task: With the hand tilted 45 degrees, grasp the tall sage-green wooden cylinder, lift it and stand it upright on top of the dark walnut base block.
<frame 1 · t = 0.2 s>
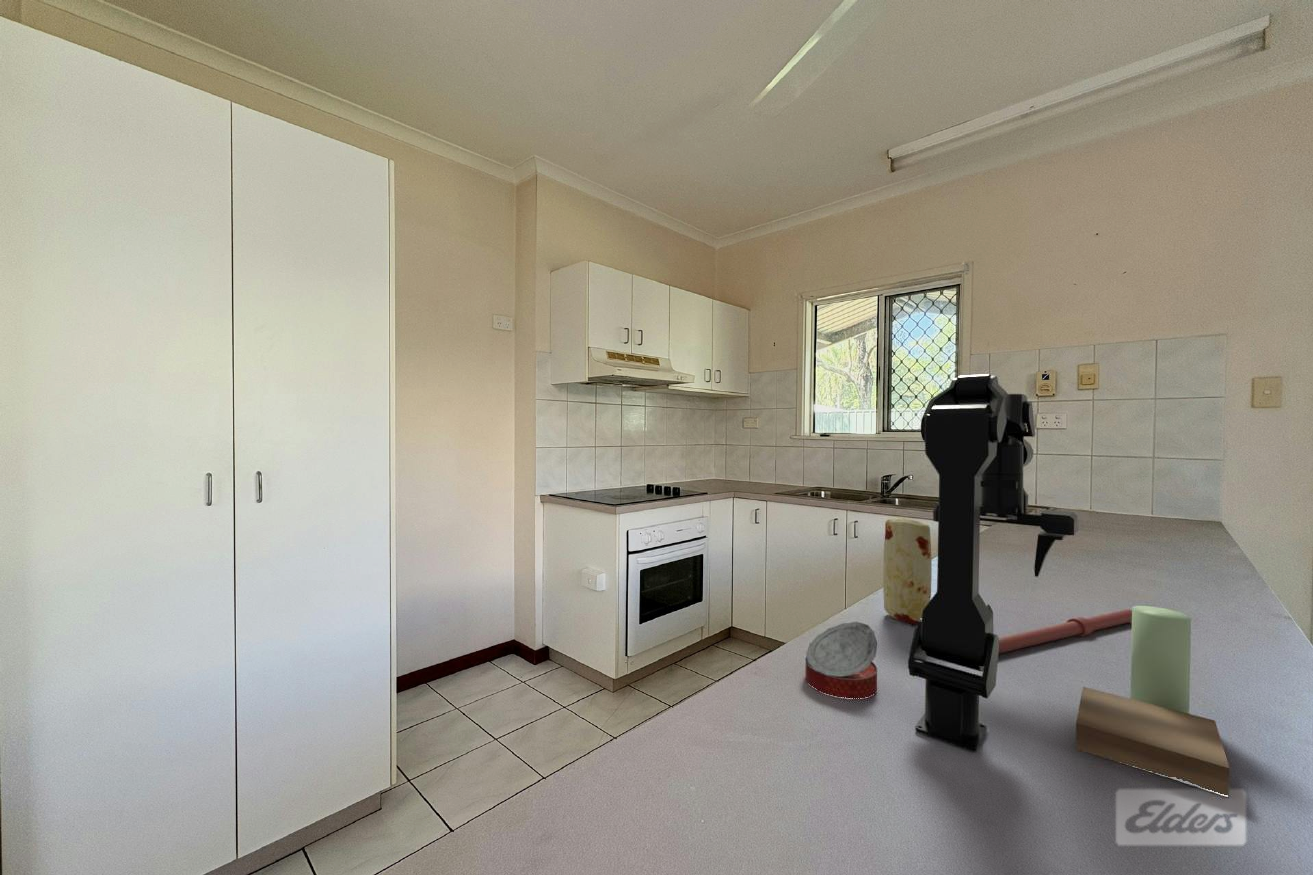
hand: (1001, 570, 84), 14 cm above the worktop, tool pointing down, fingers open, 9 cm apart
food model: (906, 621, 102), on the worktop
canned food: (840, 685, 76), on the worktop
green cylinder: (1158, 710, 69), on the worktop
walnut base: (1145, 747, 61), on the worktop
red collared rod: (1060, 641, 94), on the worktop
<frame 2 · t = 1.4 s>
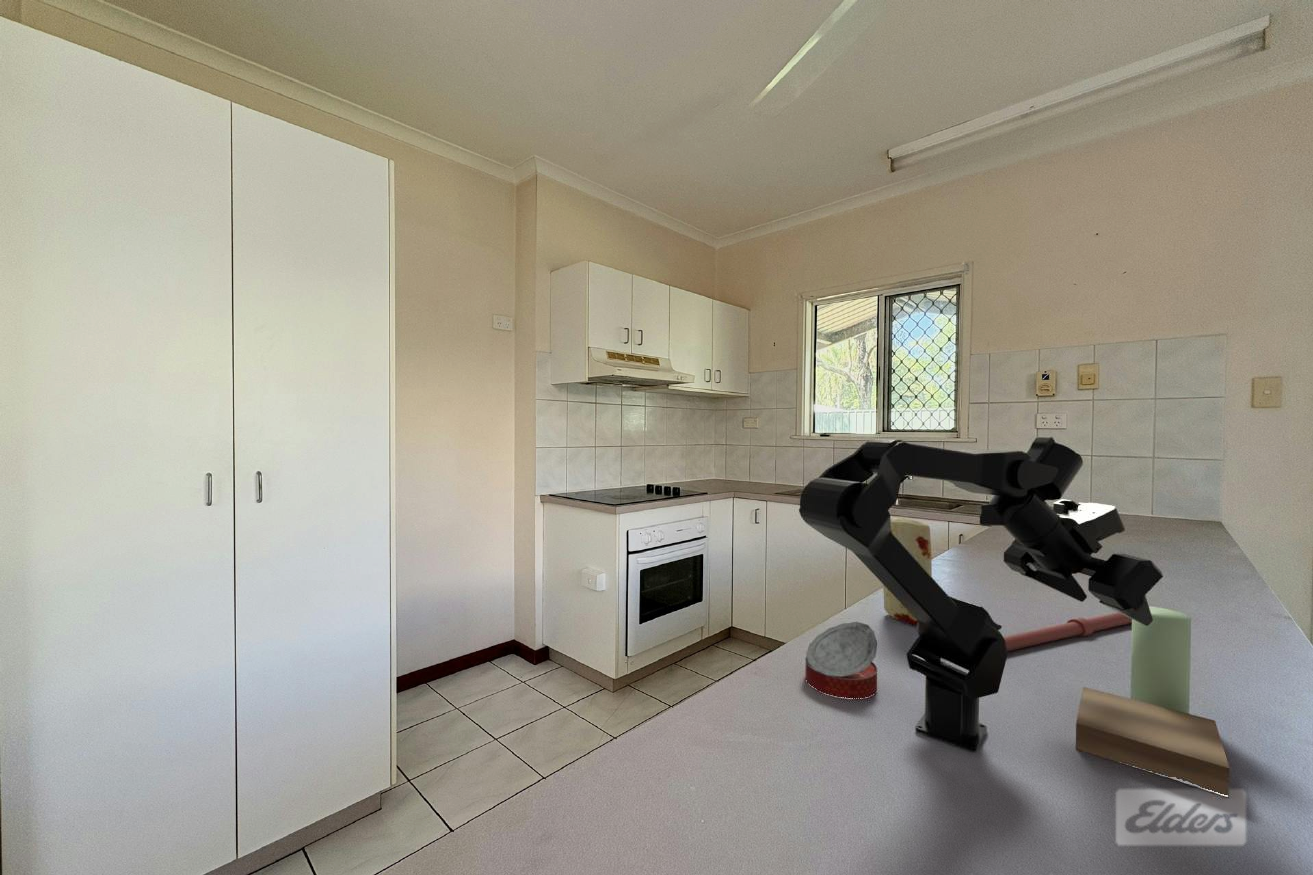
hand: (1114, 610, 69), 13 cm above the worktop, tool tilted 45°, fingers open, 9 cm apart
nothing on the worktop moved.
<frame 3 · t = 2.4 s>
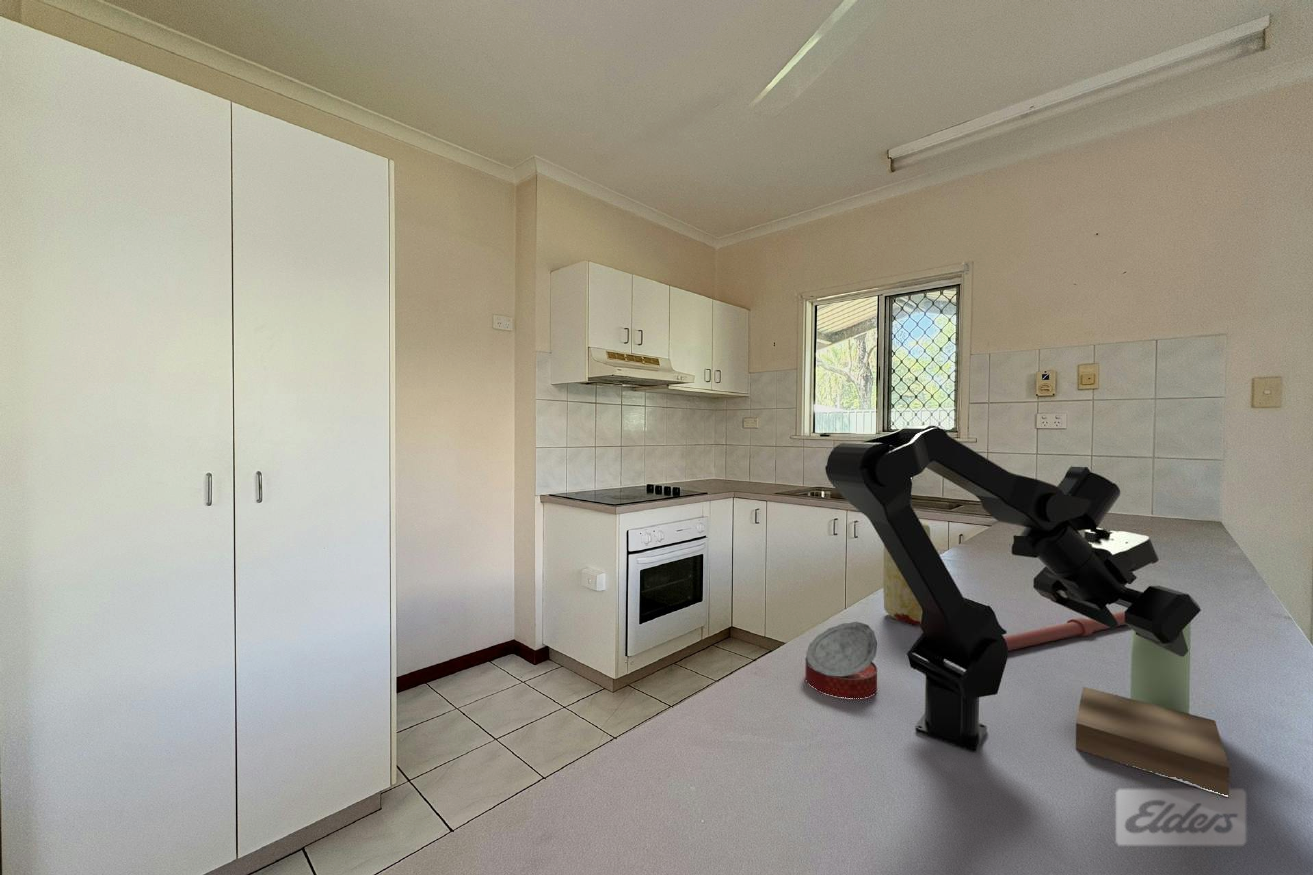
hand: (1147, 638, 69), 9 cm above the worktop, tool tilted 45°, fingers open, 9 cm apart
nothing on the worktop moved.
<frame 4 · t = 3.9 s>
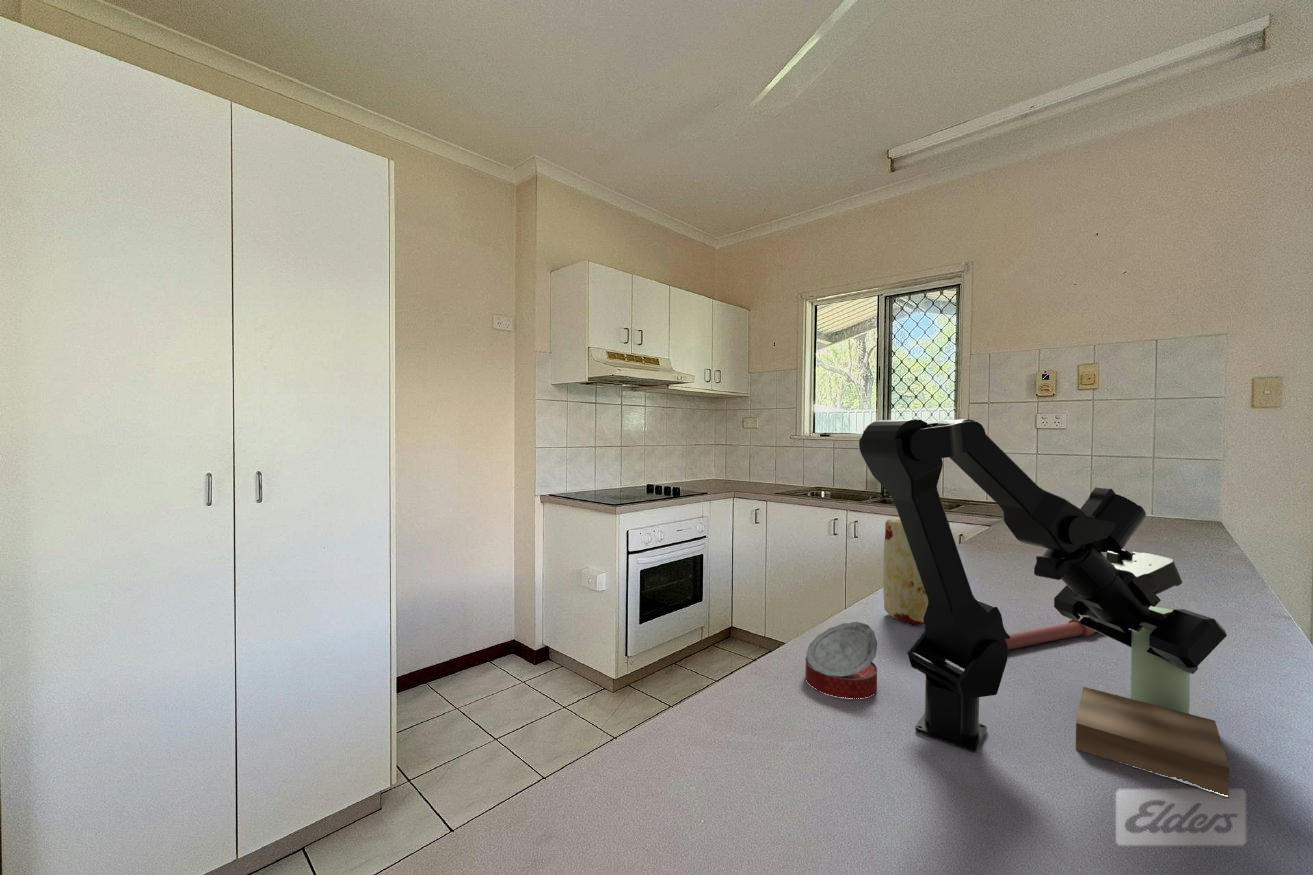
hand: (1170, 660, 69), 7 cm above the worktop, tool tilted 45°, fingers closed on green cylinder, 6 cm apart
green cylinder: (1159, 710, 69), on the worktop, touching gripper
everything else where it was.
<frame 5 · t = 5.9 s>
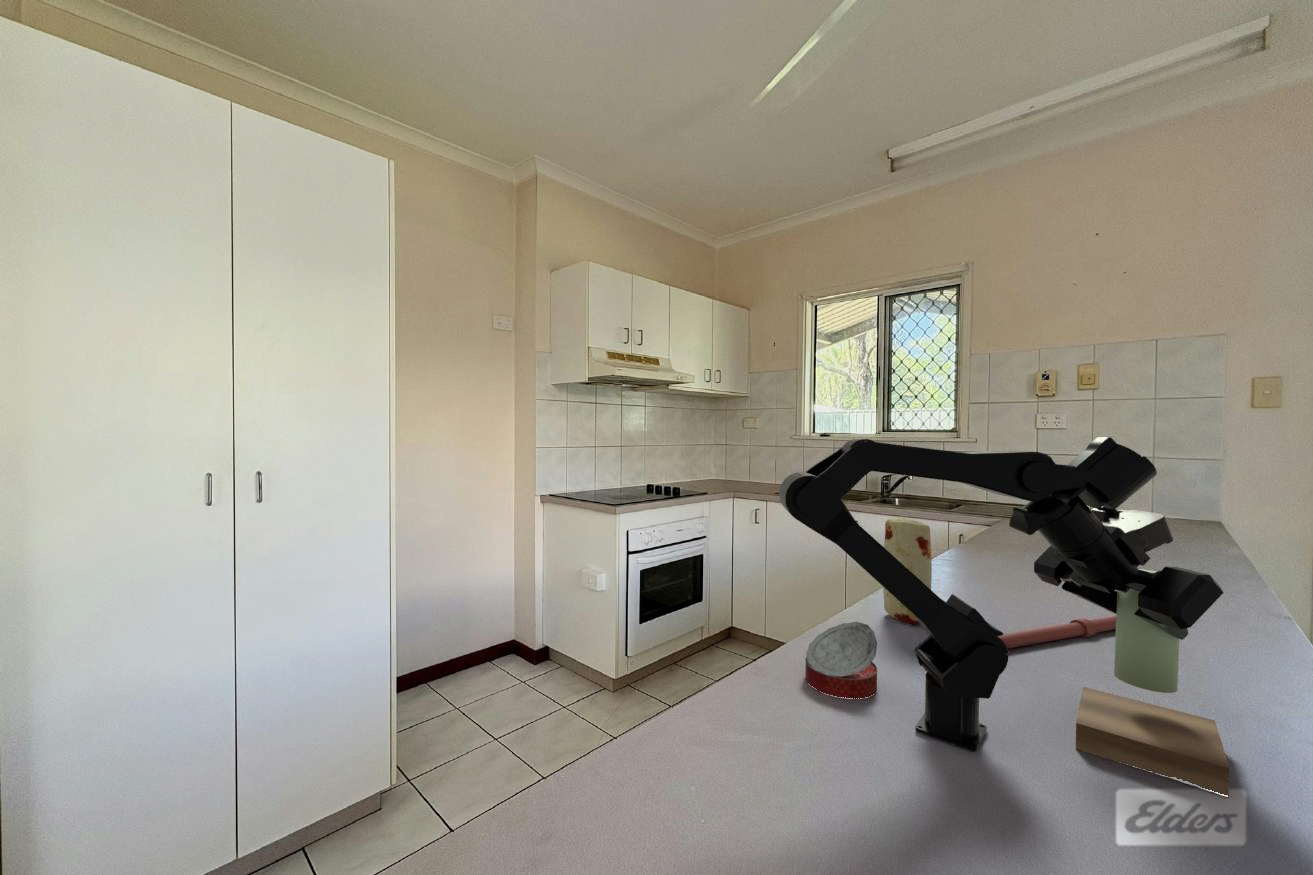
hand: (1157, 626, 63), 13 cm above the worktop, tool tilted 45°, fingers closed on green cylinder, 6 cm apart
green cylinder: (1144, 681, 63), point 7 cm above the worktop, touching gripper
everything else where it was.
when the fingers open (11 cm above the worktop, at t = 7.2 s): green cylinder drops 1 cm, resting on walnut base.
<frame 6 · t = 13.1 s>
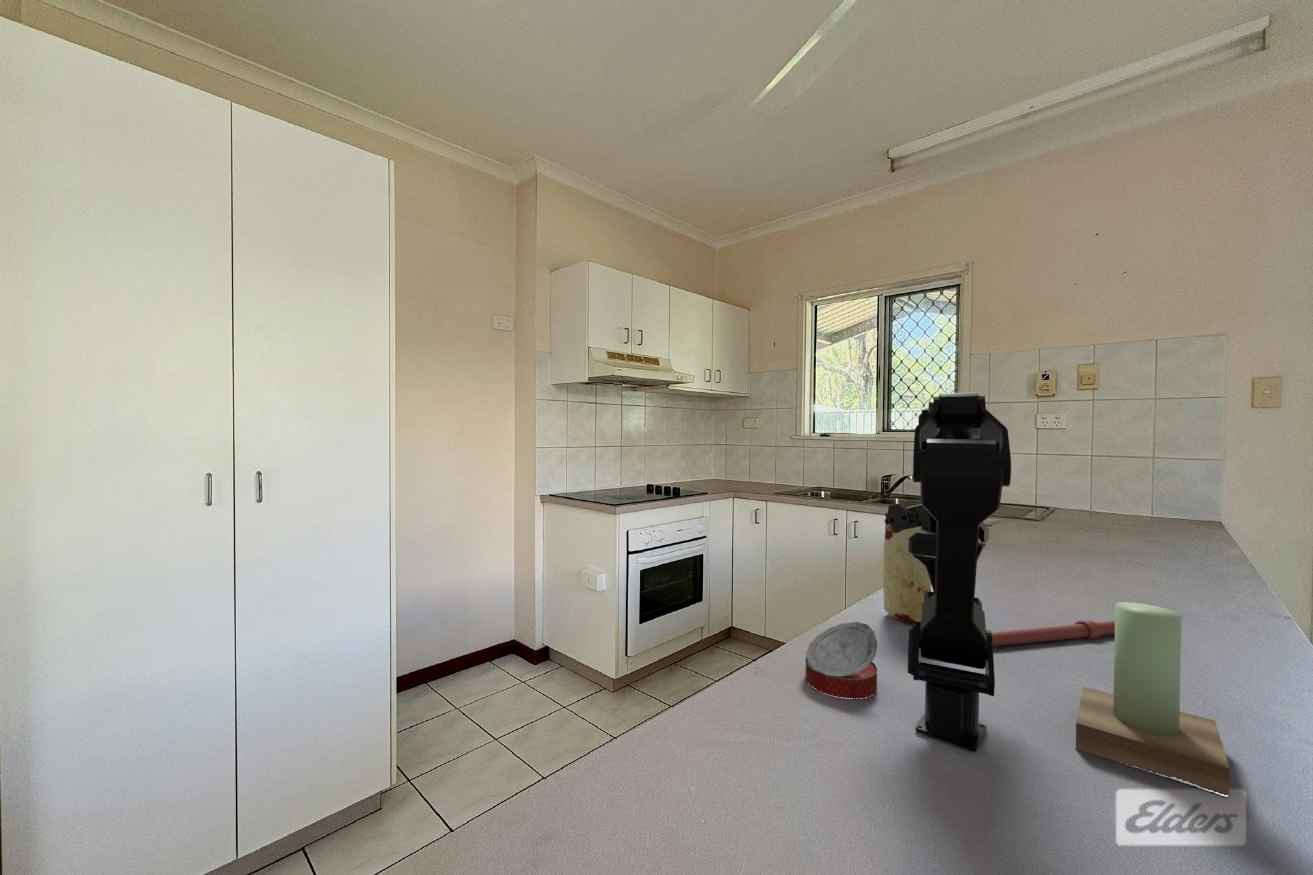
hand: (950, 597, 75), 13 cm above the worktop, tool pointing down, fingers open, 9 cm apart
green cylinder: (1145, 721, 61), point 3 cm above the worktop, touching walnut base
at the end: green cylinder inside the target area on the walnut base (0.1 cm from its centre), point 3.0 cm above the walnut base's base; green cylinder tilted 0°; the gripper is holding nothing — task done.
